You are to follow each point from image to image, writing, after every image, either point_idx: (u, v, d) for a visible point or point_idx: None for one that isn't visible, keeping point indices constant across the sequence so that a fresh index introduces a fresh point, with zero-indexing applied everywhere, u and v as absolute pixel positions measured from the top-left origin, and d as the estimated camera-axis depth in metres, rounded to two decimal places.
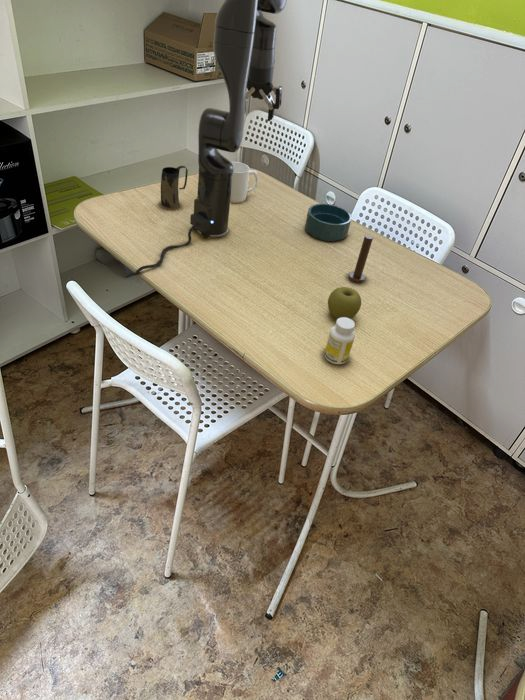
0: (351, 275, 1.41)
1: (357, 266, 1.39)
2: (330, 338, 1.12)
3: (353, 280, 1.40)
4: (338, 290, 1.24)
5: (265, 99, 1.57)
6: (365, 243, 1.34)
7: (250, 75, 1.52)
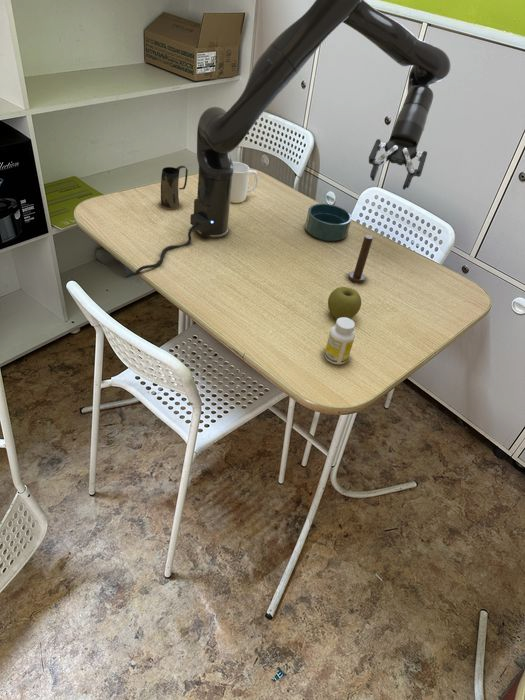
0: (351, 275, 1.41)
1: (357, 266, 1.39)
2: (330, 338, 1.12)
3: (353, 280, 1.40)
4: (338, 290, 1.24)
5: (408, 159, 1.35)
6: (365, 243, 1.34)
7: (397, 129, 1.35)
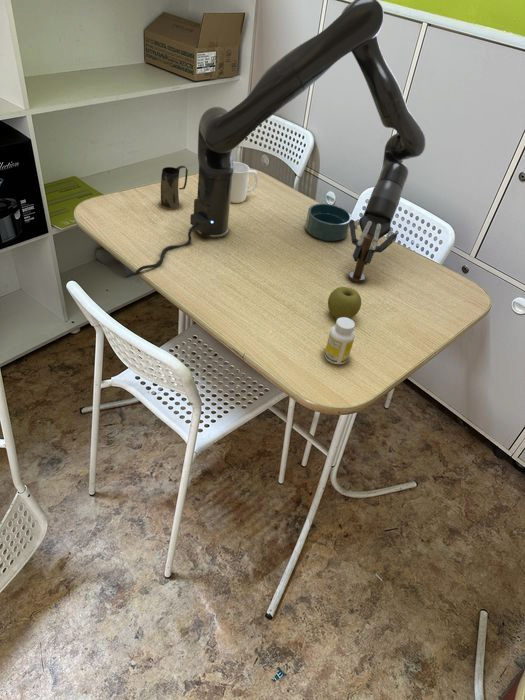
0: (351, 275, 1.41)
1: (357, 266, 1.39)
2: (330, 338, 1.12)
3: (353, 280, 1.41)
4: (338, 290, 1.24)
5: (375, 236, 1.35)
6: (365, 243, 1.34)
7: (371, 206, 1.35)
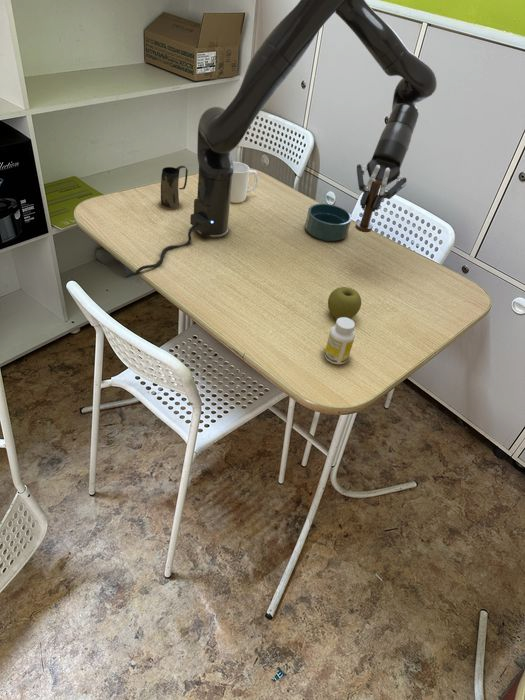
0: (358, 224, 1.35)
1: (364, 214, 1.33)
2: (330, 338, 1.12)
3: (360, 229, 1.34)
4: (338, 290, 1.24)
5: (384, 180, 1.29)
6: (373, 188, 1.28)
7: (380, 149, 1.29)
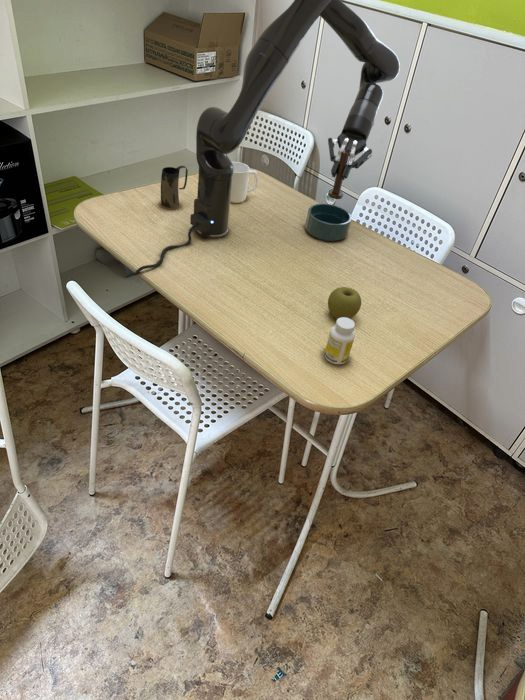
0: (330, 192, 1.51)
1: (335, 182, 1.49)
2: (330, 338, 1.12)
3: (332, 196, 1.50)
4: (338, 290, 1.24)
5: (352, 151, 1.45)
6: (342, 158, 1.44)
7: (348, 123, 1.44)
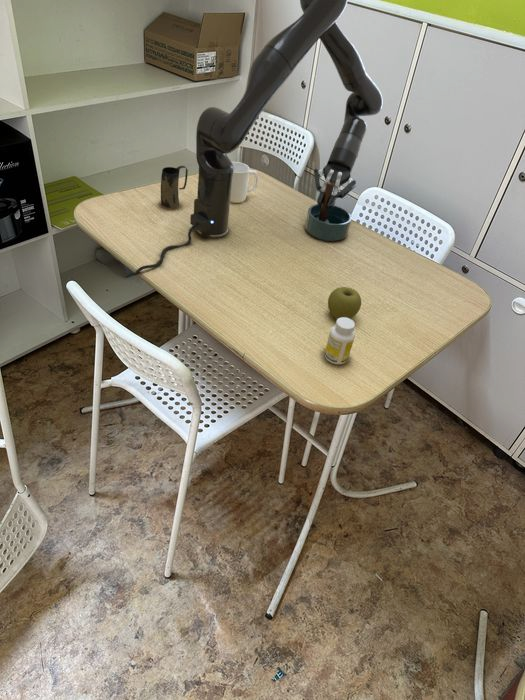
0: None
1: (321, 211, 1.56)
2: (330, 338, 1.12)
3: None
4: (338, 290, 1.24)
5: (337, 182, 1.52)
6: (327, 189, 1.51)
7: (333, 155, 1.51)
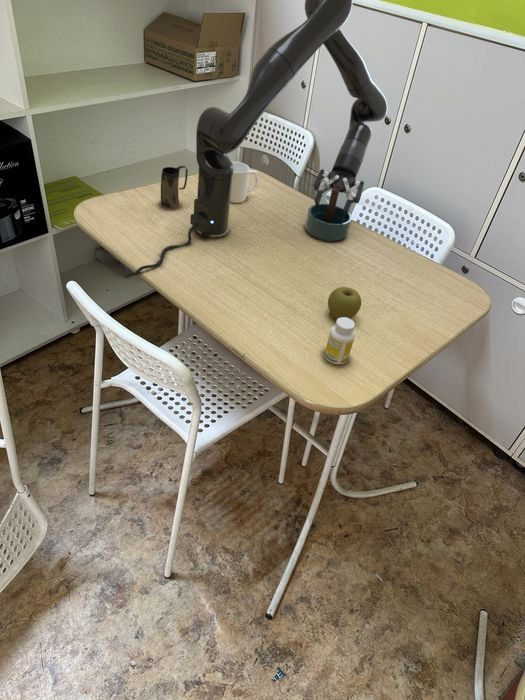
0: None
1: (326, 217, 1.57)
2: (330, 338, 1.12)
3: None
4: (338, 290, 1.24)
5: (347, 188, 1.52)
6: (332, 195, 1.52)
7: (338, 161, 1.52)
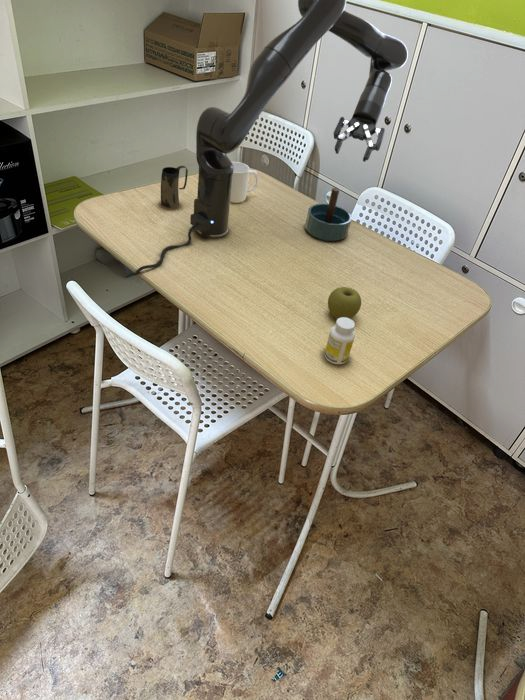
0: None
1: (326, 217, 1.57)
2: (330, 338, 1.12)
3: None
4: (338, 290, 1.24)
5: (367, 135, 1.52)
6: (332, 195, 1.52)
7: (359, 108, 1.52)
